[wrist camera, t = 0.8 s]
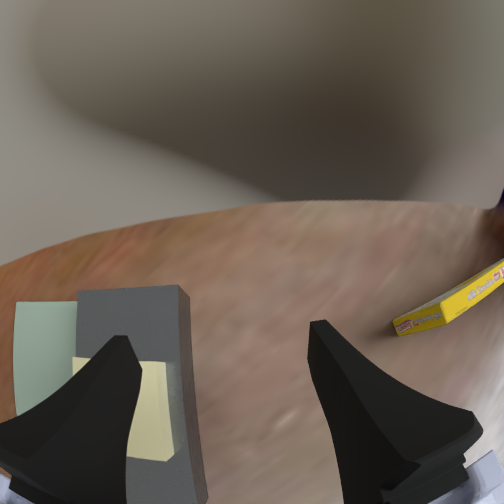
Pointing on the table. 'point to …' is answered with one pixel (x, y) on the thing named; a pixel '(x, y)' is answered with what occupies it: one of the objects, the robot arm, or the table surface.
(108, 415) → the robot arm
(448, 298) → the candy box
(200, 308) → the table surface
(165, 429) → the sticky-note pad
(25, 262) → the table surface
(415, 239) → the table surface
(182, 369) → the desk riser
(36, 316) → the rubber mat
